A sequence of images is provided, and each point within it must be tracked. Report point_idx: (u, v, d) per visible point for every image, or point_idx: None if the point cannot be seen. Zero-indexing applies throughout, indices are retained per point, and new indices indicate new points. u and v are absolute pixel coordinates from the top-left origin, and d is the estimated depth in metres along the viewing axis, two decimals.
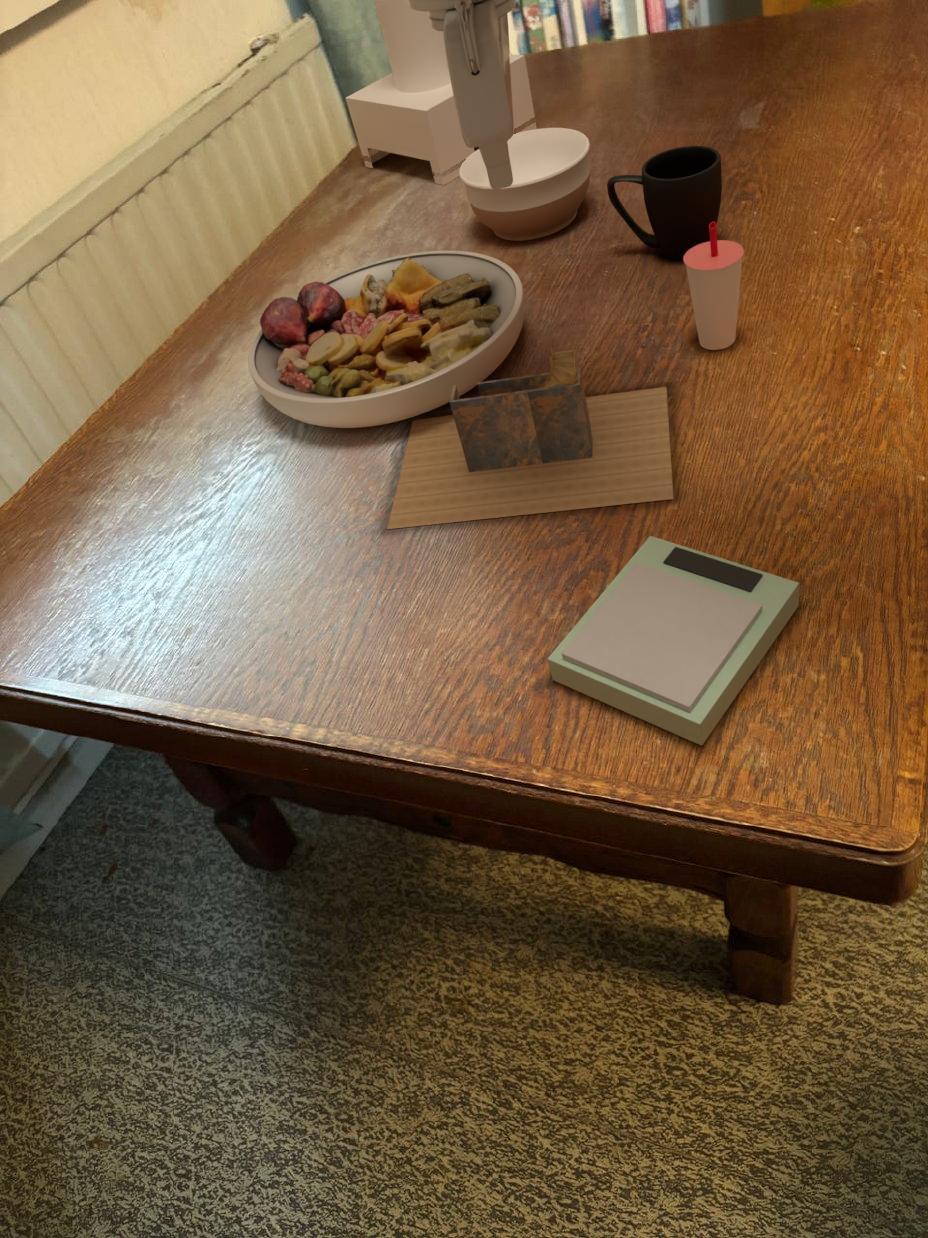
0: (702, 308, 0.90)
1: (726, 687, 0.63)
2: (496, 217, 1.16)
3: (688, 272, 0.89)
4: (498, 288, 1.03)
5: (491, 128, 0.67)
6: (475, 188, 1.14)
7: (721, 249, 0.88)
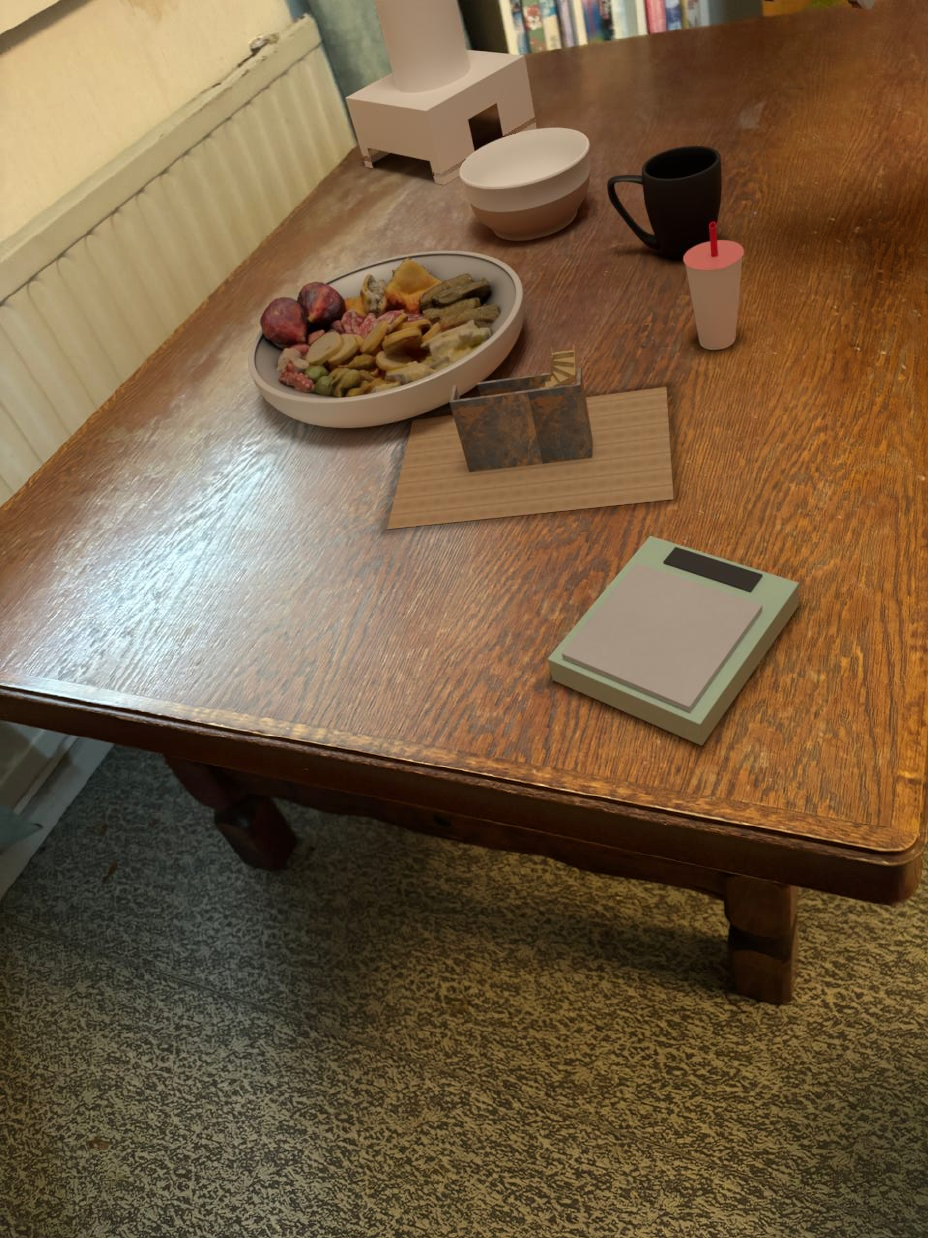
0: (702, 308, 0.90)
1: (726, 687, 0.63)
2: (496, 217, 1.16)
3: (688, 272, 0.89)
4: (498, 289, 1.03)
5: None
6: (475, 188, 1.14)
7: (721, 249, 0.88)
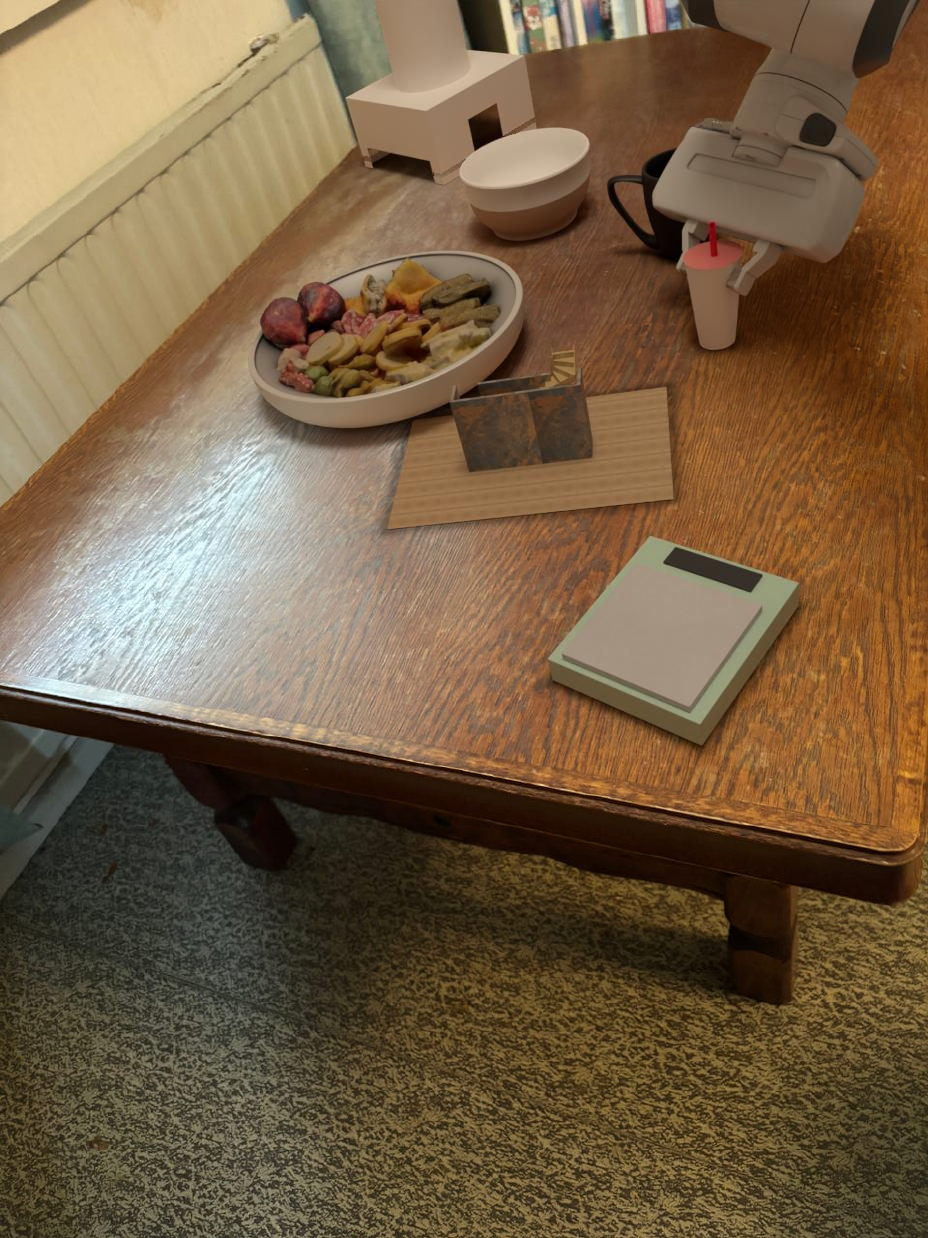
0: (702, 308, 0.90)
1: (726, 687, 0.63)
2: (496, 217, 1.16)
3: (688, 272, 0.89)
4: (498, 289, 1.03)
5: None
6: (475, 188, 1.14)
7: (721, 249, 0.88)
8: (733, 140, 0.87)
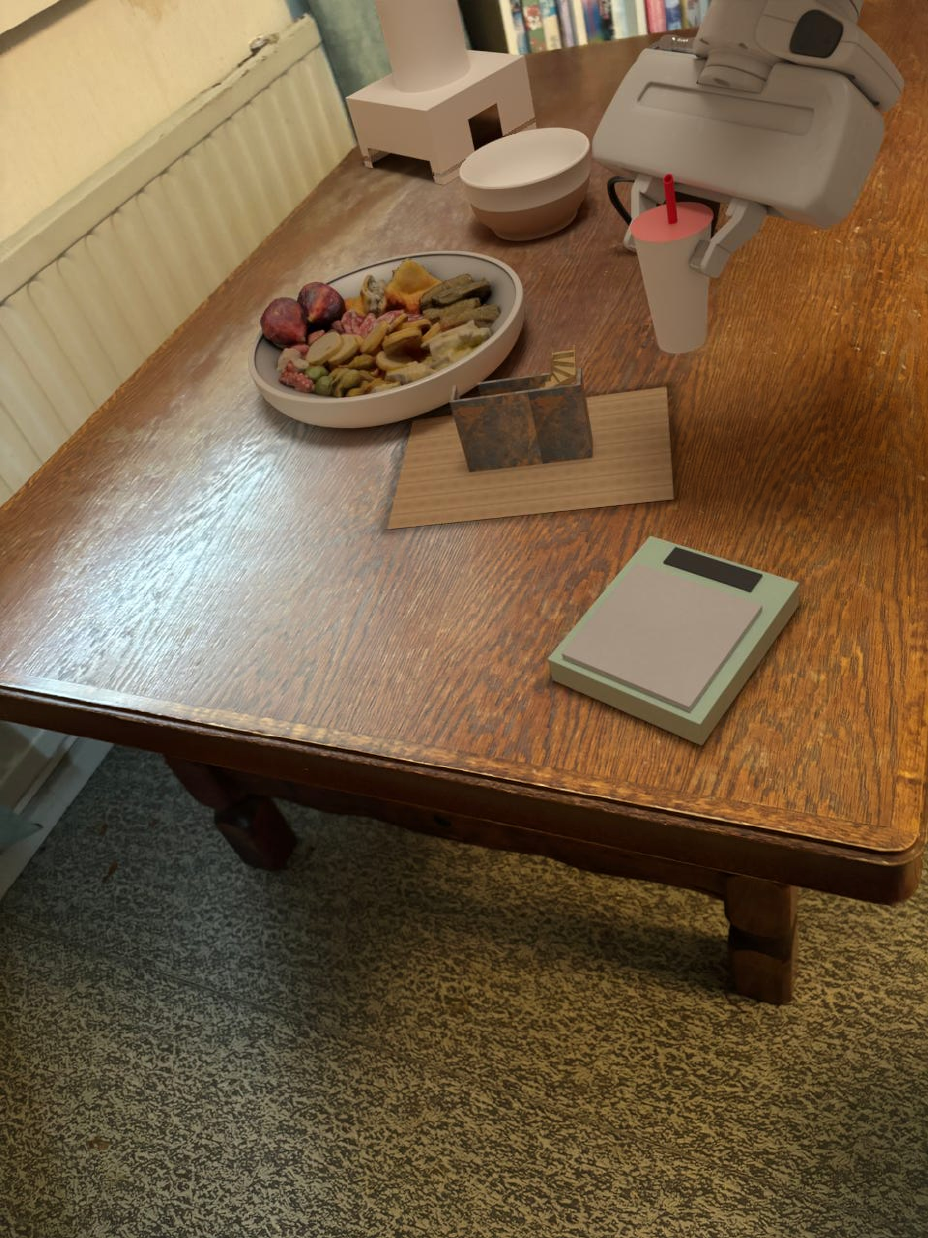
0: (658, 297, 0.65)
1: (726, 687, 0.63)
2: (496, 217, 1.16)
3: (637, 246, 0.64)
4: (498, 289, 1.03)
5: None
6: (475, 188, 1.14)
7: (682, 214, 0.64)
8: (699, 61, 0.62)
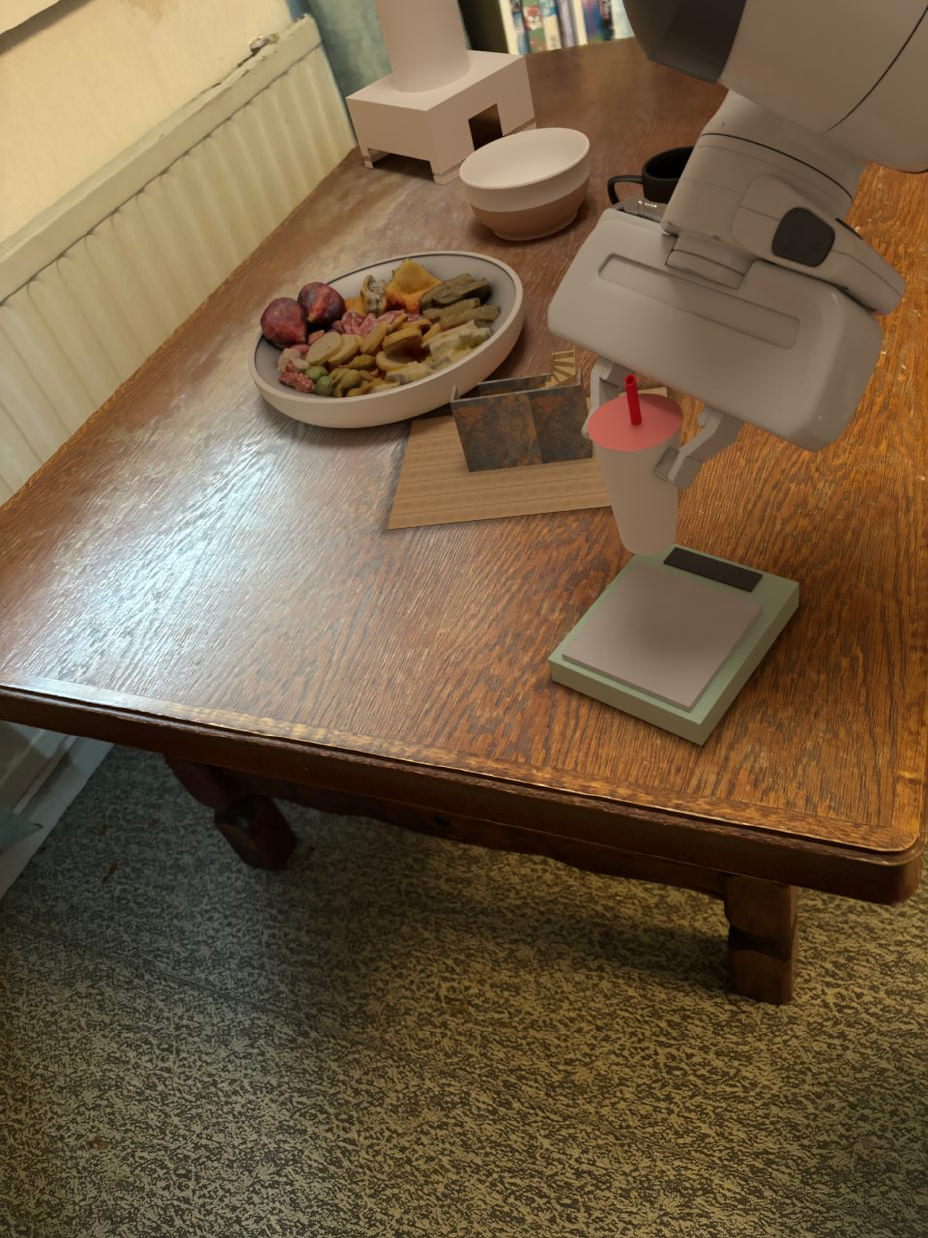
0: (620, 501, 0.57)
1: (726, 687, 0.63)
2: (496, 217, 1.16)
3: (595, 448, 0.55)
4: (498, 289, 1.03)
5: None
6: (475, 188, 1.14)
7: (648, 411, 0.55)
8: (667, 238, 0.54)
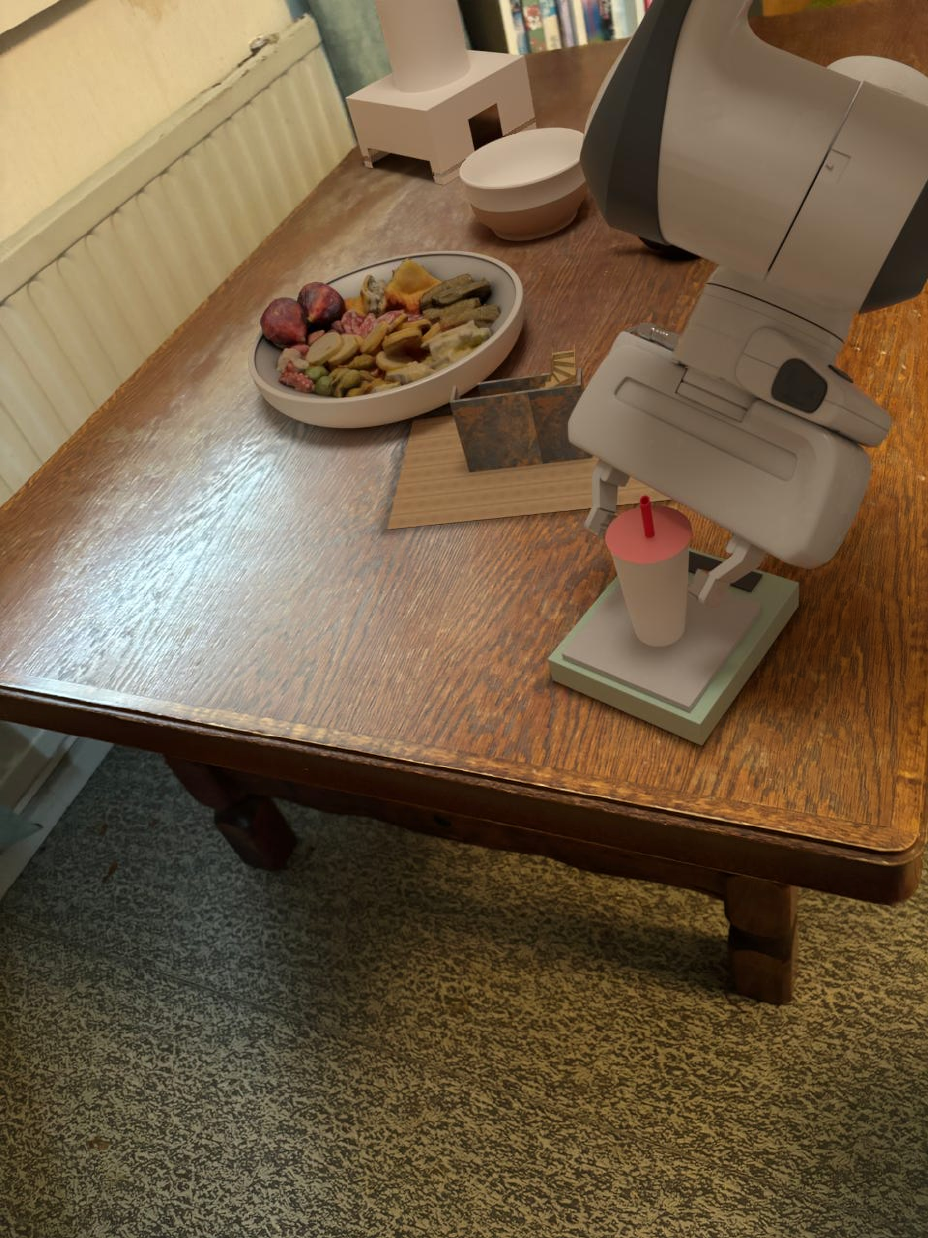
0: (634, 602, 0.63)
1: (726, 687, 0.63)
2: (496, 217, 1.16)
3: (612, 556, 0.61)
4: (498, 289, 1.03)
5: None
6: (475, 188, 1.14)
7: (660, 524, 0.61)
8: (677, 368, 0.59)
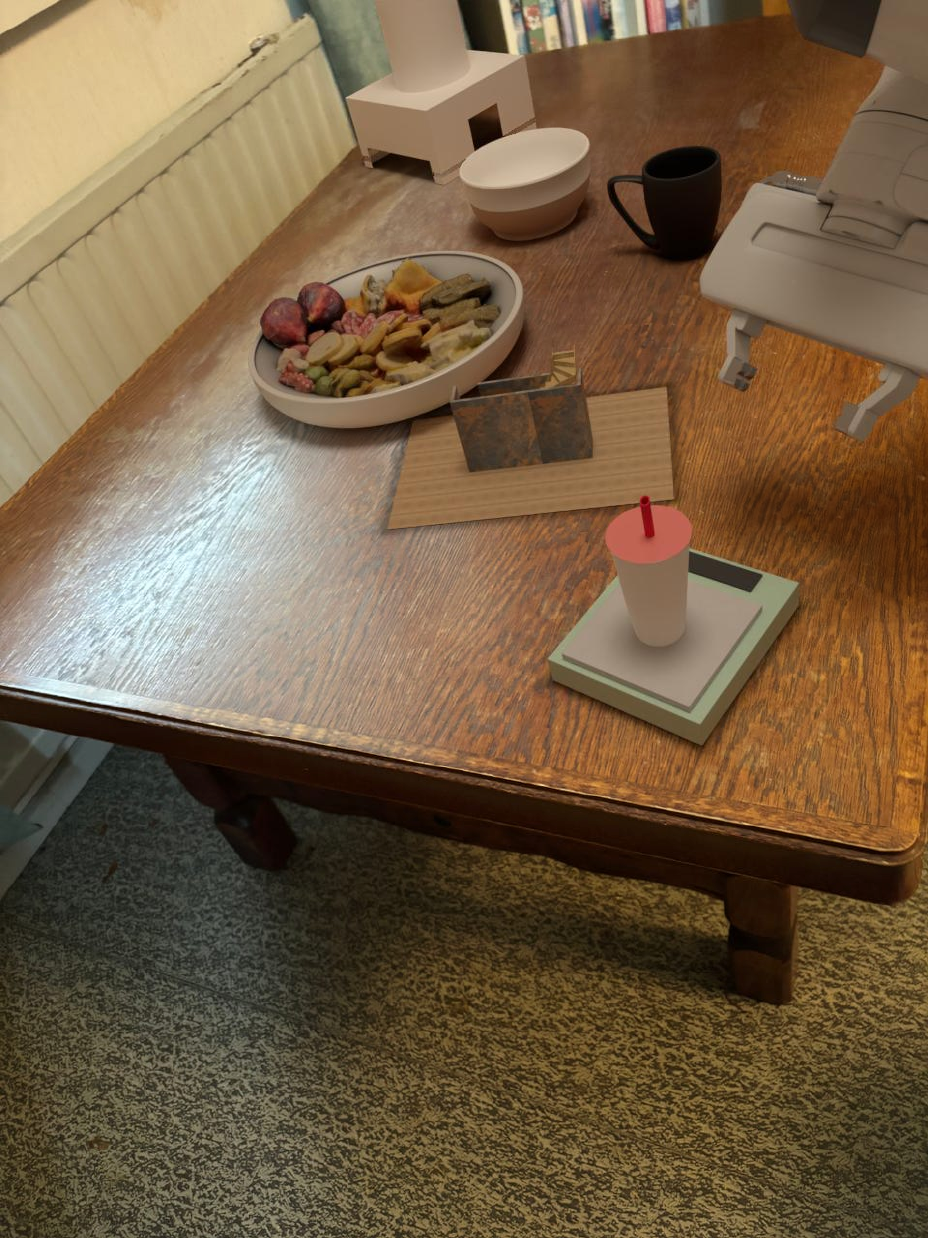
0: (634, 602, 0.63)
1: (726, 687, 0.63)
2: (496, 217, 1.16)
3: (612, 556, 0.61)
4: (498, 289, 1.03)
5: None
6: (475, 188, 1.14)
7: (660, 524, 0.61)
8: (822, 206, 0.60)
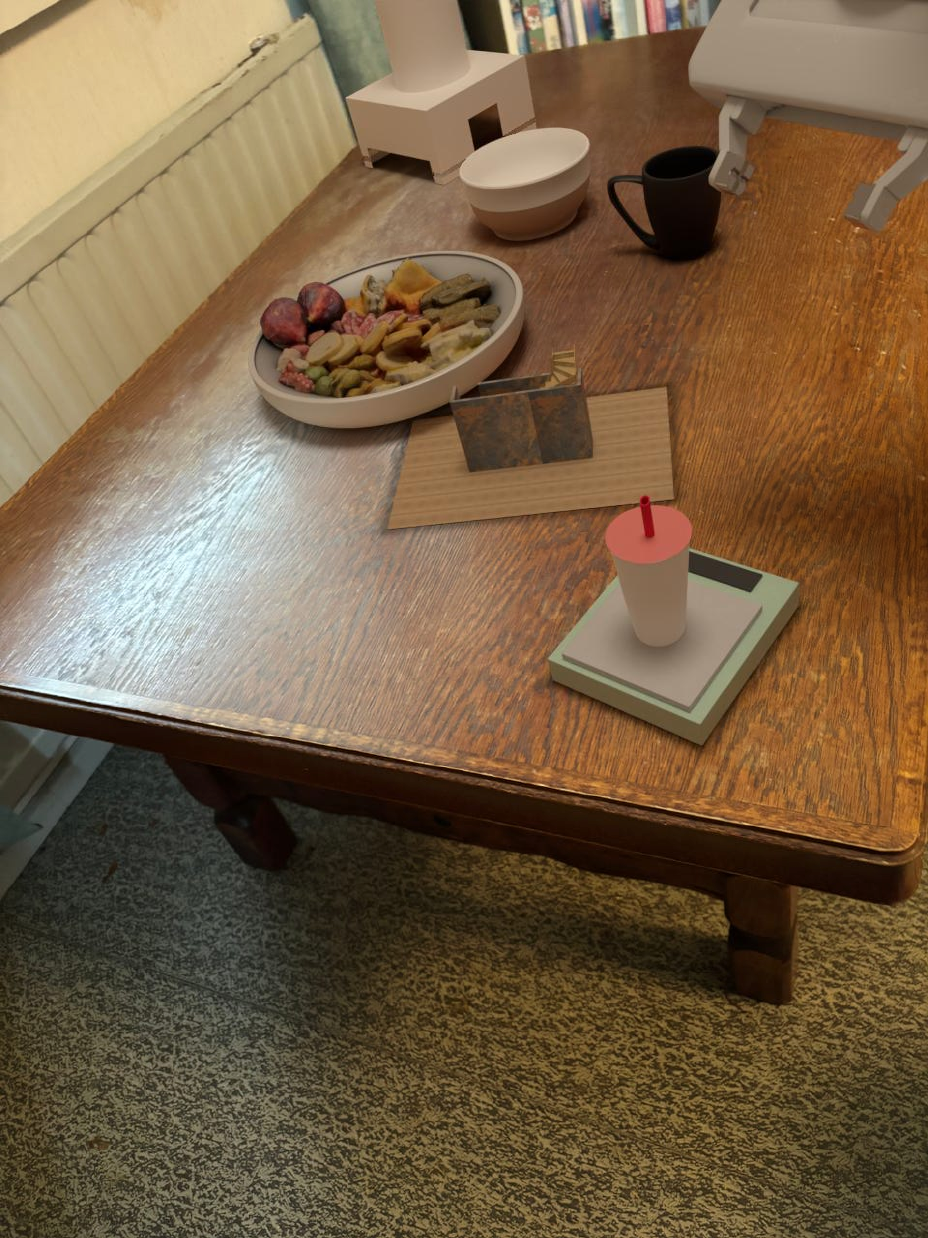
0: (634, 602, 0.63)
1: (726, 687, 0.63)
2: (496, 217, 1.16)
3: (612, 556, 0.61)
4: (498, 289, 1.03)
5: None
6: (475, 188, 1.14)
7: (660, 524, 0.61)
8: None
